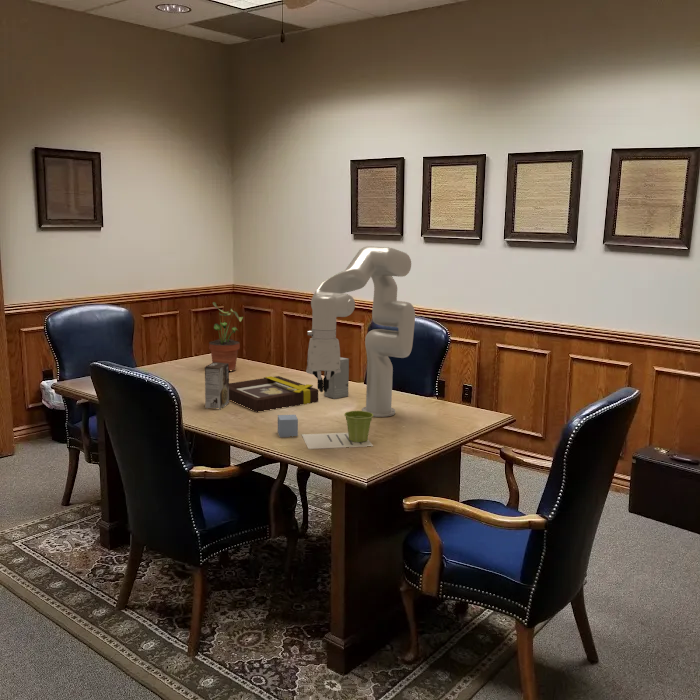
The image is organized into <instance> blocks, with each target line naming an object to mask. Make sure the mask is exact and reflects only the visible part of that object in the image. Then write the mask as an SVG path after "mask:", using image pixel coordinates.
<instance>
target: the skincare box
mask: <svg viewBox="0 0 700 700" xmlns="http://www.w3.org/2000/svg"><path fill="white" fill-rule="evenodd" d="M349 363H350V358H347V357H341V356H340V370H341V372H340V373H337V374H334V375H333V376H332V377H331V378H330V379H329V389H327V392H324V391H323V395H324V396H325V397H327V398H331V399H334V400H335V399H342V398H345V397H349V378H350V377H349V373H350V364H349ZM325 372H326V371H323V373H324V377H325ZM324 377H323V378H324Z"/></svg>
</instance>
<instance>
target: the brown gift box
mask: <svg viewBox="0 0 700 700" xmlns="http://www.w3.org/2000/svg"><path fill="white" fill-rule="evenodd" d="M313 386H314V385H313V384H307V383H306V384H303V383H301V382H297V381H294V380H291V379H289V378H285V377H282V376H279V375H275V376H271V375H270V376H265V377H263V378H255V379H251V380H250V379H249V380H243V381H237V382H231V383H230V382H229V400H232V401H234V402H236V403H238V404H241V405H243V406H245V407H248V408H250V409H252V410H254V411H253V412H255V411H257V412H256V413H259V412H258V411H263V412H265V411H264V410H269V411H271V410H270V409H274V410H277V409H276V408H280V409H283V408H282V407H286V408H289V406H292V407H296V406H295V405H297V406H301V405H300V404H304V405H308V404H307V403H309V404H313V403H312V402H314V403H318V402H319V389H318V388H315V387H313ZM234 402H233V403H234ZM236 403H235V404H236ZM238 404H237V405H238ZM241 405H240V406H241ZM243 406H242V407H243ZM245 407H244V408H245ZM248 408H247V409H248ZM250 409H249V410H250ZM252 410H251V411H252Z"/></svg>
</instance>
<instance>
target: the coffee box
mask: <svg viewBox="0 0 700 700" xmlns="http://www.w3.org/2000/svg"><path fill="white" fill-rule="evenodd" d="M229 376H230V373H229V363H220V362H213V363H212V362H211V363H209V364H207V365H206V366H204V386H205V387H204V392H205V393H204V394H205V396H204V397H205V398H204V399H205V403H204V404H205V405H204V406H205V409H208V408H219V409H218V410H222V409H223V408H225V407H226V406H227V404H228V403H229V404H230V401H229V383H230V379H229V378H230V377H229ZM229 404H228V405H229ZM225 405H226V406H225ZM224 406H225V407H224ZM222 407H223V408H222ZM221 408H222V409H221Z"/></svg>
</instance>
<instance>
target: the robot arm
mask: <svg viewBox="0 0 700 700" xmlns="http://www.w3.org/2000/svg"><path fill="white" fill-rule="evenodd" d="M411 260H412V259H411V257H410V255H409V254H408V253H407V252H404V251H401V250H398V249H396V248H393V247H389V246H368V245H367V246H364V247H362V248H359V250H358V252H357V253H356V254H355V256H354V257H353V258H352V259H351V261H350V263H349V264H348V266H346V268H345V269H344V270H343V271H340V272H338V273H335V274H334V275H332V276H330V277H328V278H326V279H325V280H323V282H321V283H320V285H319V286H318V287H317V288H316V290H315V291H314V292H313V295H312V297H311V301H310V306H311V309H312V314H311V315H312V316H311V317H312V318H311V319H312V323H311V325H312V326H311V330H307V336H311V338H309V342H308V348H307V349H308V350H307V360H306V361H307V362H306V363H307V364H306V365H307V366H306V370H305V372H306V373H307V374H310V375H313V376H314V377H315V378H316V379H317V389H318V392H320V393H324V392H327V389H329V379H330V378H331V377H332V376H333V375H334V374H337V373H340V372H341V370H340V357H341V348H340V341H339V339H338V338H337V318H338V317H340V318H346V317H348V316H350V315H352V314H353V312H354V310H355V308H356V302H355V299H354V298H353V296H352V295H350V294H347V293H350V292H351V293H352V292H354V291H355V292H356V291H358V290H360V289H363V288H364V287H366V285H367V283H368V282H369V280H370V279H371V280H372V284H373V301H372V310H371V311H372V312H371V318H372V319H371V320H372V322H373V323H374V324H375V325H378V326H383V327H389V328H390V327H392V328H397V330H390V329H383V328H377V329H372V330H370V331H368V332H367V334H366V335H365V339H364V340H365V341H364V343H365V350H366V363H367V364H366V366H367V367H366V394H365V396H366V398H365V399H366V400H365V406H364V407H361V411H365V412H370V413H372V414H373V417H372V418H375V417H376V418H388V417H391V416H394V415H395V414H396V409H395V408H393V407H392V404H393V403H392V399H393V398H392V396H393V374H394V373H393V372H394V370H393V369H394V368H393V364H392V362H391V359H390V358H391V357H393V358H401V359H404V358H408V357H409V356H410V354H411V352H412V349H413V343H414V333H415V324H416V310H415V307H414V305H413V304H412V303H410V302H408V301H401V300H397V299H398V298H397V297H398V284H397V282H396V280H395V278H394V277H400V278H402V277H405V276H407V275H408V274H409V273H410V271H411V269H412V261H411ZM324 371H326V372H325V377H322V372H324Z"/></svg>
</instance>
